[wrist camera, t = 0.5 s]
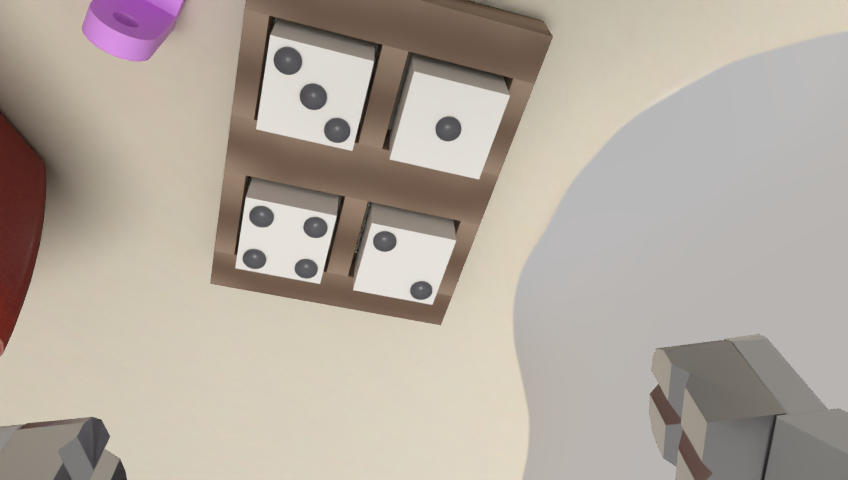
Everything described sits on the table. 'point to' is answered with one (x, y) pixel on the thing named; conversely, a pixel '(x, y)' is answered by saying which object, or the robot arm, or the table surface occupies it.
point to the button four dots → (286, 230)
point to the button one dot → (447, 116)
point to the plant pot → (18, 223)
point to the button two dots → (403, 253)
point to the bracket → (131, 26)
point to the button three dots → (314, 84)
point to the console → (372, 137)
